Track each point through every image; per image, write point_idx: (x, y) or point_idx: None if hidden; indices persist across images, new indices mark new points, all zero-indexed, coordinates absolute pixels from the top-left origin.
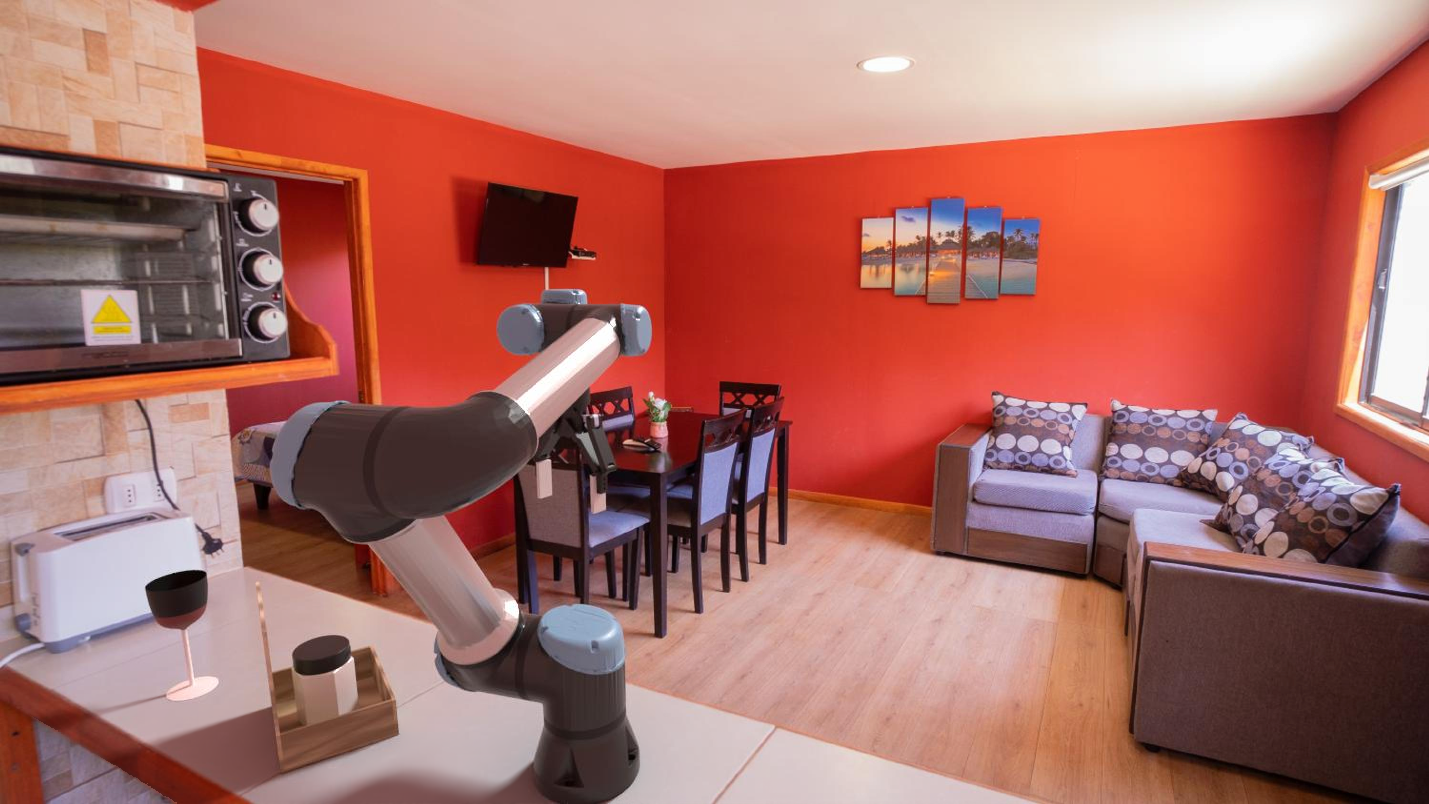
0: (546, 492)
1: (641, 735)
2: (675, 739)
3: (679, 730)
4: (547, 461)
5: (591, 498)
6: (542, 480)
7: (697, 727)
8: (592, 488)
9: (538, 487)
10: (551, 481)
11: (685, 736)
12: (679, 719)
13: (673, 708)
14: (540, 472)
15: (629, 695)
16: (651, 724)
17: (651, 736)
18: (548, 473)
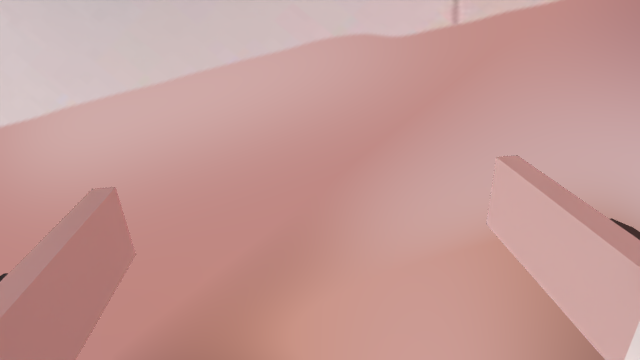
0: (502, 204)
1: (63, 9)
2: (20, 39)
3: (37, 60)
4: (624, 344)
5: (72, 228)
6: (547, 219)
7: (27, 83)
8: (20, 270)
9: (541, 180)
10: (523, 264)
11: (18, 55)
12: (62, 80)
13: (94, 95)
14: (590, 239)
15: (171, 74)
16: (79, 41)
17: (50, 18)
18: (560, 282)
